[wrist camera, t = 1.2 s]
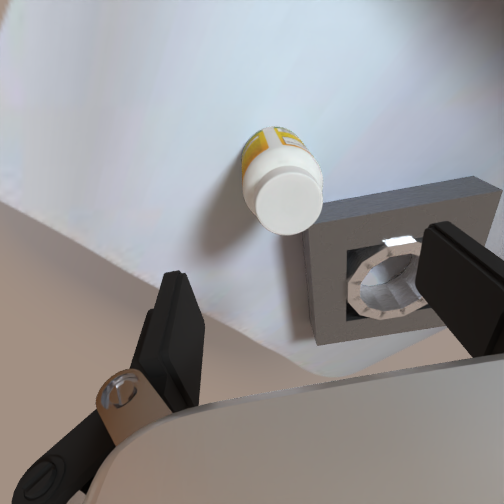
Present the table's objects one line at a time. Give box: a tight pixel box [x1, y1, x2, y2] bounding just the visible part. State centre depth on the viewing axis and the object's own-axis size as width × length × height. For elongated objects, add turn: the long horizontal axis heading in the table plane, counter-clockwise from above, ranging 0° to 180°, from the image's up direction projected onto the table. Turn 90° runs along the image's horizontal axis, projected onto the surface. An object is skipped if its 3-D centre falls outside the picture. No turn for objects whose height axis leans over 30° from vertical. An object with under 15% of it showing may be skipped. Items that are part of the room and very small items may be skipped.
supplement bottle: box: [241, 126, 323, 235], centre depth 21 cm, size 5×5×10 cm
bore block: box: [302, 176, 503, 346], centre depth 30 cm, size 16×16×4 cm
